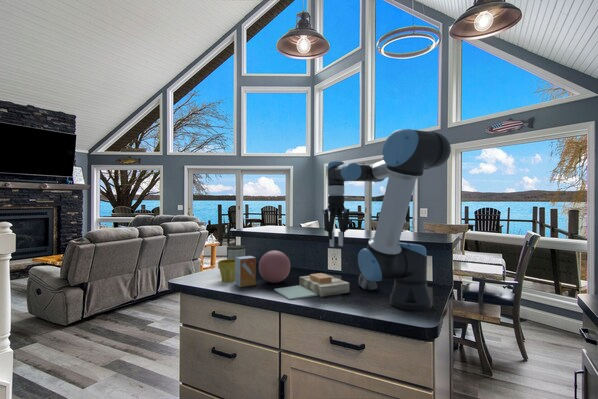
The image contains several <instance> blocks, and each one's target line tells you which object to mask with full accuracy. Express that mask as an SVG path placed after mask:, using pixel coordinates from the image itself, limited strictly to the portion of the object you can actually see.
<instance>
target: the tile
mask: <svg viewBox="0 0 598 399" xmlns="http://www.w3.org/2000/svg"><path fill="white" fill-rule="evenodd" d="M325 274H326V273H322V272H320V273H319V272H317V273H311V274H309V276H310V279H311V280H314V281H316V282H318V283H325V282H332V277H333V276H332V277H330V276H331V275H330V276H328V275H329V274H327V275H325Z"/></svg>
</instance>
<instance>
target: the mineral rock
mask: <svg viewBox="0 0 598 399" xmlns="http://www.w3.org/2000/svg"><path fill="white" fill-rule="evenodd" d="M358 285H359V286H360V287H361V288H362V289H363V290H365V291H367V290H369V291H374V290H377V289H378V285H377V281H369V280H367V279H366V278H365V277H364V276H363V274H362V273H360V275H359V276H358Z"/></svg>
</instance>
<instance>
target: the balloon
mask: <svg viewBox="0 0 598 399" xmlns="http://www.w3.org/2000/svg"><path fill="white" fill-rule="evenodd" d="M290 270H291V262H290V257H288V256H287V255H286V254H285V253H284V252H282V251H279V250H275V249H274V250H269V251H267V252H265V253H264V254H263V255H262V256H261V258H260V259H259V262H258V271H259V274H260V276H261V277H262V278H263V280H265V281H266V282H268V283H274V284H276V283H281V282H282V281H284V280H285V279H286V278H287V277H288V276H289V273H290V272H291V271H290Z"/></svg>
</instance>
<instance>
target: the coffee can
mask: <svg viewBox="0 0 598 399" xmlns="http://www.w3.org/2000/svg"><path fill="white" fill-rule="evenodd" d="M243 256H246V245H242V244H235V245H228V246H226V259H235V257H243Z"/></svg>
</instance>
